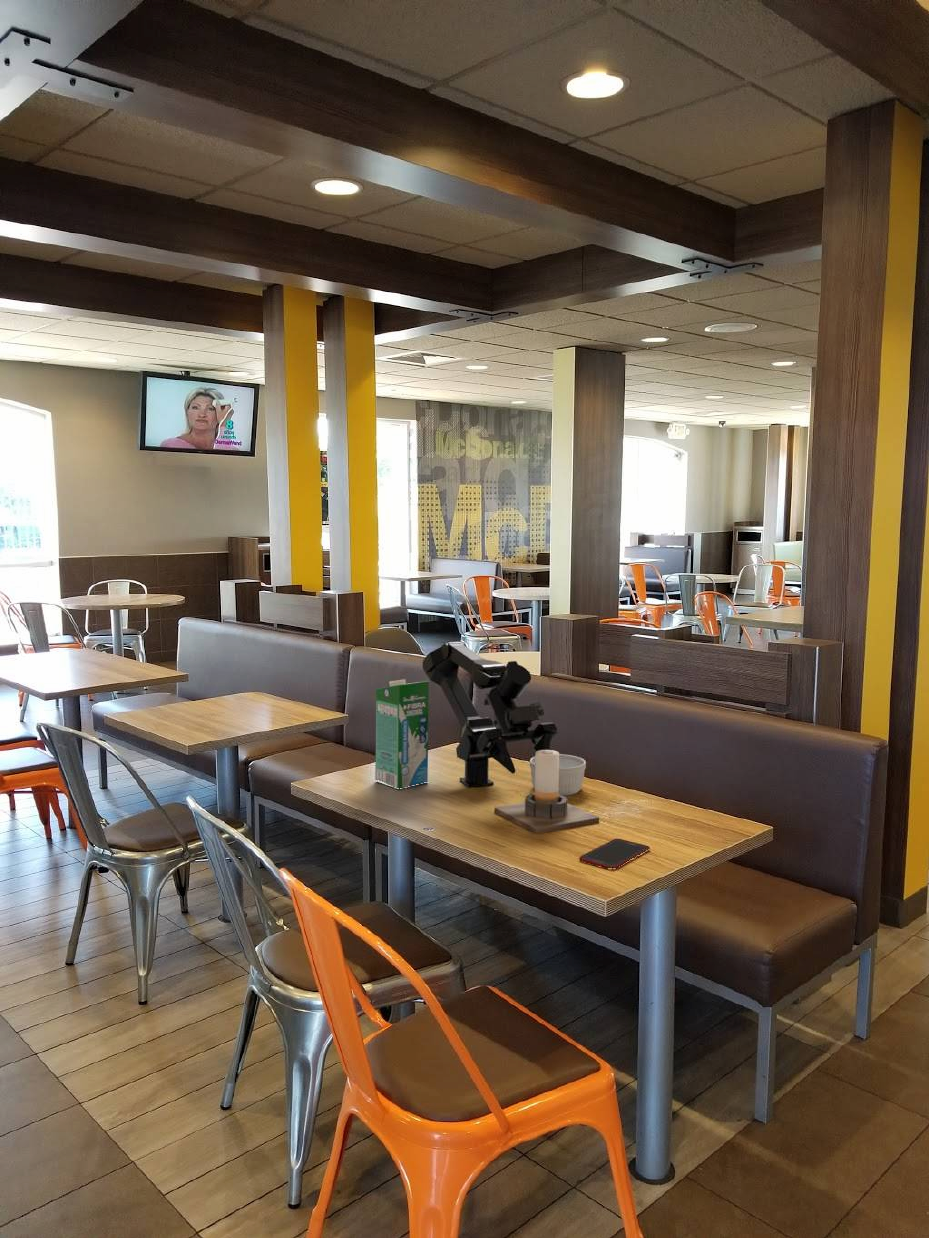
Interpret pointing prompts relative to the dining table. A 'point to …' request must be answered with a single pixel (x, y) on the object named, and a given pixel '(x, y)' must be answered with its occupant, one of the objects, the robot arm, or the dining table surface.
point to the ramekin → (566, 774)
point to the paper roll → (546, 776)
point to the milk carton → (402, 733)
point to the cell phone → (614, 853)
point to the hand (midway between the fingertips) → (531, 770)
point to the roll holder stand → (546, 815)
